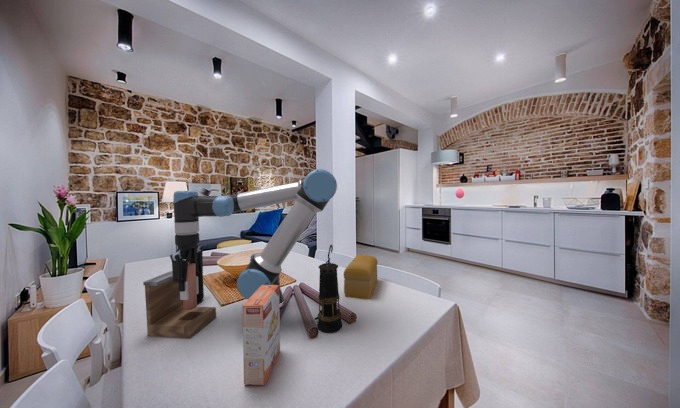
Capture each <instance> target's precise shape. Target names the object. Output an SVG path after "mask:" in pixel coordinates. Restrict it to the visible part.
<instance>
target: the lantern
mask: <svg viewBox="0 0 680 408" xmlns="http://www.w3.org/2000/svg"><path fill="white" fill-rule="evenodd" d="M333 249H334V247H333V244H330V246H329V248H328V254H327V259H328V260H327V261H326V262H325V263H322V264H320V265H318V269H319V284H318V285H319V289H318V291H319V292H318V293H319V294H318V301H319V302H318V303H319V305H318V307H319V308H318V313H317V316H316V317H314V320H315V321H317V326H316V327H318V328H317V330H318V331H319V332H321V333H324V334H334V333H337V332H339V331H340V330H342V328H343V322H342V313H341V311H340V310H341V309H340V307H341V306H340V299H341V298H340V297H341V296H340V292H339V281H338V280H339V279H338V268H339V265H338V264H336V263H334V262H332V263H331V258H330V255H331V253H333Z"/></svg>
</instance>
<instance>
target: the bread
mask: <svg viewBox="0 0 680 408" xmlns="http://www.w3.org/2000/svg"><path fill="white" fill-rule="evenodd" d="M343 278H344V282H343V283H344V284H343V293H344V297H346V298H354V299H362V300H371V298H372V297H373V294H374V291H375V288H376V286H377V283H378V259H377V258H376V257H375V256H372V255H368V254H359V255H356V256H355V257H354V258H353V259H352V261H350V262H349V264H348V265H347V266H346V267H345V269H344V270H343Z"/></svg>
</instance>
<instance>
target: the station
mask: <svg viewBox="0 0 680 408" xmlns="http://www.w3.org/2000/svg"><path fill="white" fill-rule="evenodd" d="M142 283H143V286H144V293H145V296H144V297H145V311H146V312H145V313H146V331H147V336H148V337H160V338H177V339H191V338H193V337H194V336H195V335H196V334H197V333H199V332H200V331H202V329H204V328H205V327H206V326H207V325H208V324H210V323H211V322H212V321H213V320H214V319H216V318H217V310H216V308H217V307H215V306H197V307H196V308H194V309H192V310H183V306H182V300H180V292H179V283H178V282H173V272H172V270H169V271H167V272H165V273H162V274H159V275H157V276H155V277H153V278H150V279H147V280H145V281H143V282H142Z"/></svg>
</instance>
